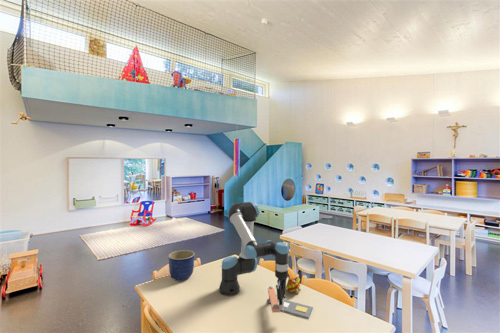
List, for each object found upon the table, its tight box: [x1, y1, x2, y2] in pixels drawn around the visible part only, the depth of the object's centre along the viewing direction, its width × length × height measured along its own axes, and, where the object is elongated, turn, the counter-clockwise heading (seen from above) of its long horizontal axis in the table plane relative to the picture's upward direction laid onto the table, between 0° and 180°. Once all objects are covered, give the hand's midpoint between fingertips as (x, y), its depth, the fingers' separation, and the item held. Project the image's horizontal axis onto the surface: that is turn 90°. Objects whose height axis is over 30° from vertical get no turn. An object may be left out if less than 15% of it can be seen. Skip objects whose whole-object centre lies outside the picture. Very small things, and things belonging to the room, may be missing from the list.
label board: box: [277, 299, 314, 319], centre depth 161 cm, size 24×12×1 cm, turn 64°
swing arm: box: [267, 286, 281, 313], centre depth 155 cm, size 26×4×10 cm, turn 2°
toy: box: [286, 273, 301, 295], centre depth 183 cm, size 14×10×15 cm
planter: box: [168, 249, 196, 282], centre depth 202 cm, size 21×21×19 cm
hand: (281, 309), depth 147 cm, fingers closed
